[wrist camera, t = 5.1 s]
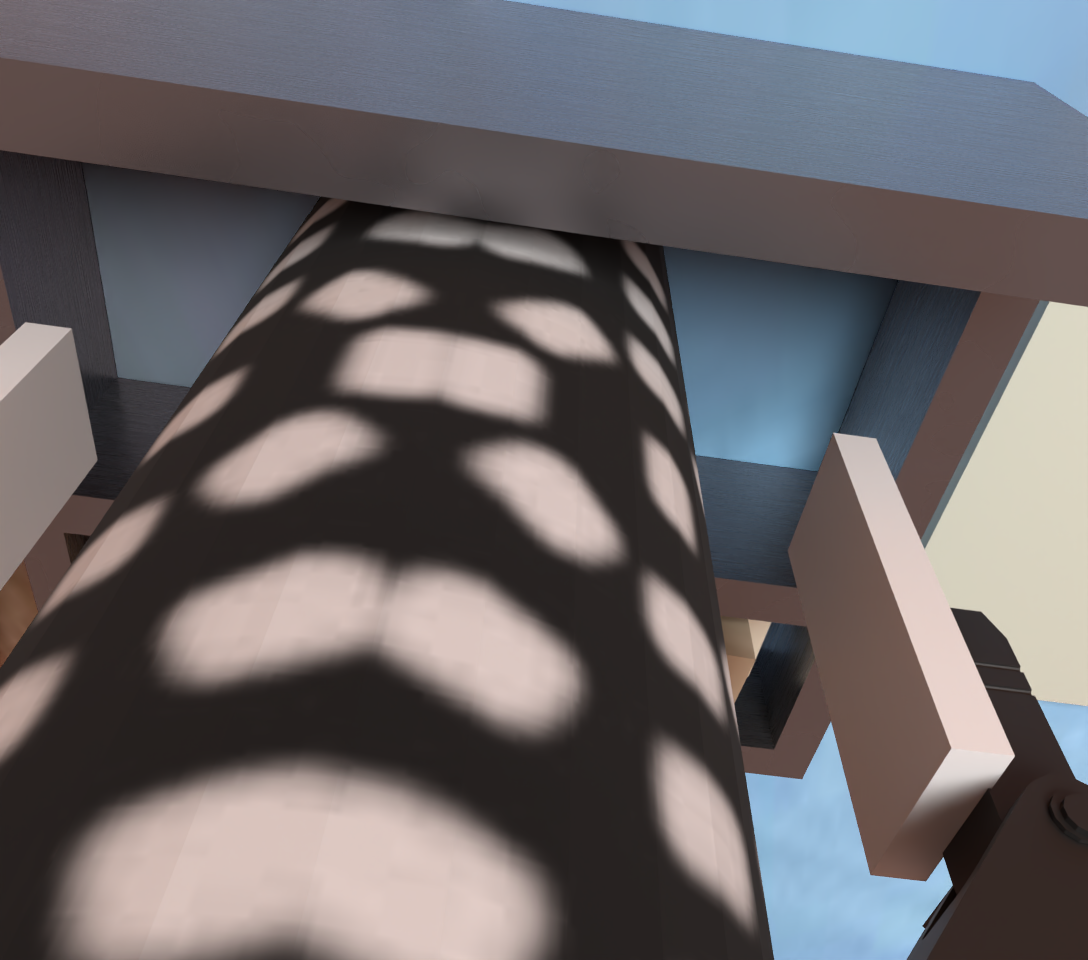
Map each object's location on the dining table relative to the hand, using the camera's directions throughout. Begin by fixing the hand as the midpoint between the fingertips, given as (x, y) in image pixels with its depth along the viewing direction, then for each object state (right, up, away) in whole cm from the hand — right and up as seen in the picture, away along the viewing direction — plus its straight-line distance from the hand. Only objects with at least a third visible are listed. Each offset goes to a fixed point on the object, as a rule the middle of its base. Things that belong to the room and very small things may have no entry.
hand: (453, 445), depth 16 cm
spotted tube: (0, +5, +6) cm, 8 cm away
